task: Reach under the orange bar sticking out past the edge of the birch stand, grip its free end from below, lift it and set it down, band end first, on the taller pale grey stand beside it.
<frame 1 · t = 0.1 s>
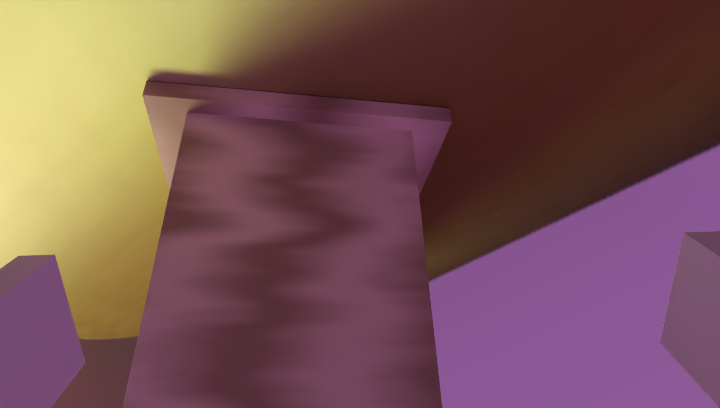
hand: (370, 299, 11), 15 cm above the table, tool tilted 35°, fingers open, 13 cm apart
birch stand: (299, 154, 31), on the table
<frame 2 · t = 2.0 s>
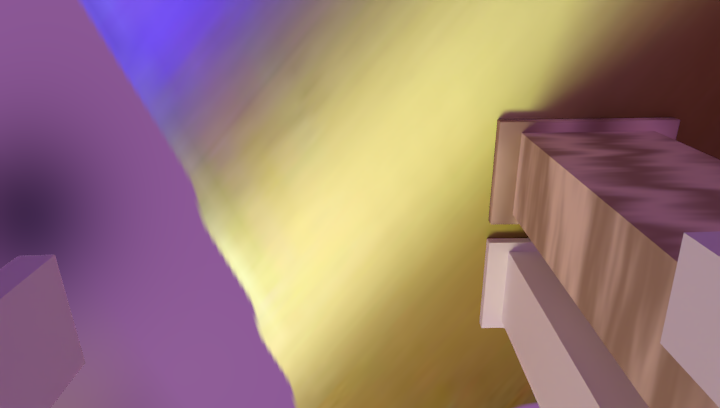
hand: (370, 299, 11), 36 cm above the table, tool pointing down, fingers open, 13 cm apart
grey stand: (560, 281, 52), on the table
birch stand: (577, 170, 48), on the table
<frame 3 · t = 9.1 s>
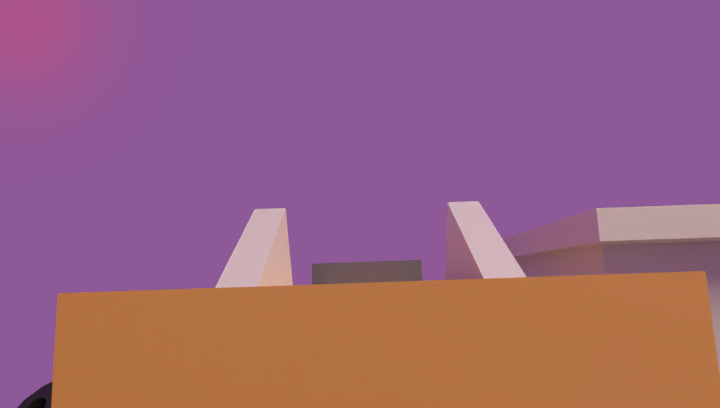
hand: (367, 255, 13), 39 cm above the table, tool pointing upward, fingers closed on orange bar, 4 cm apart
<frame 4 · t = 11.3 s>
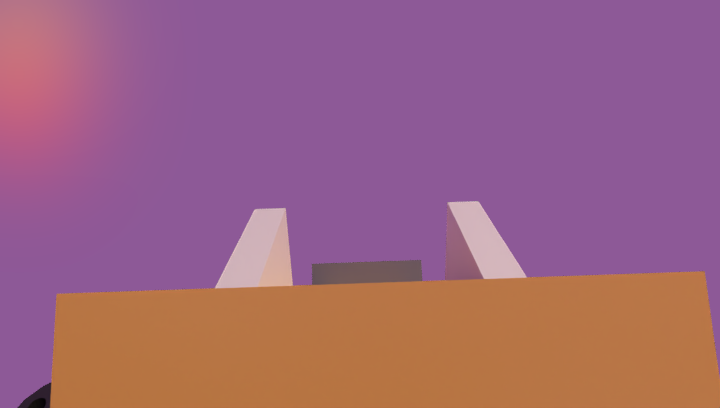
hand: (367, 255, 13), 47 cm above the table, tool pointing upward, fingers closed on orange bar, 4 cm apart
when the fingers open (46 cm above the table, at t = 13.7 s): orange bar stays where it is, resting on grey stand.
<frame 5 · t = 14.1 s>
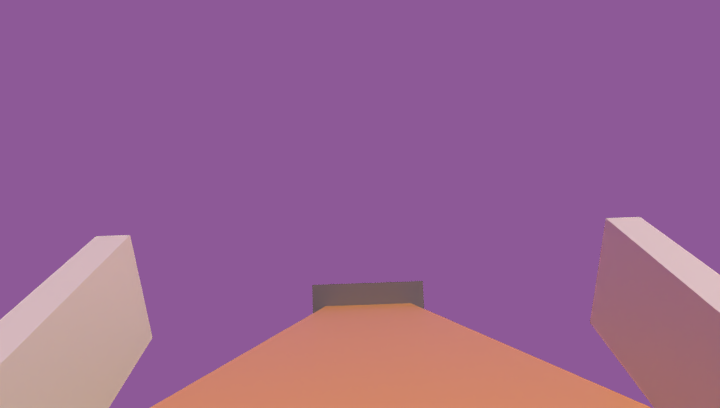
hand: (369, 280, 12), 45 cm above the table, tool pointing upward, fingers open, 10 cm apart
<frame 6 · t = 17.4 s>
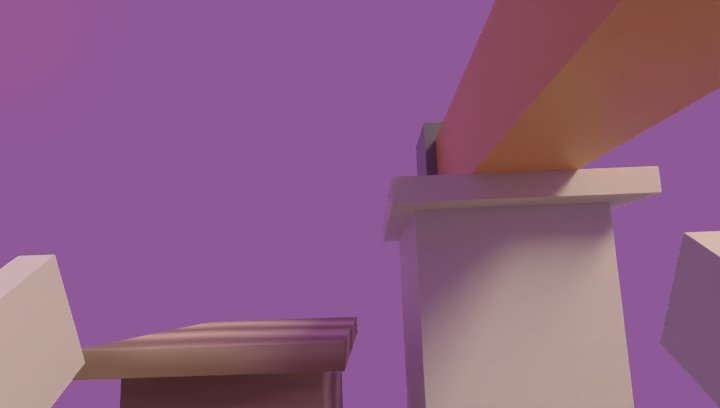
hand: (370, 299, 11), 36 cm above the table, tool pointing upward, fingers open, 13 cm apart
orange bar: (517, 176, 20), point 40 cm above the table, touching grey stand
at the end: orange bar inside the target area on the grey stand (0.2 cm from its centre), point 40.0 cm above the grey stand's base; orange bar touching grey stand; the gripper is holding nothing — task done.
